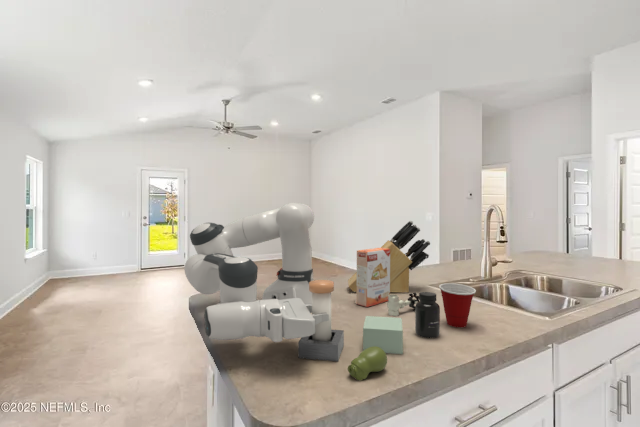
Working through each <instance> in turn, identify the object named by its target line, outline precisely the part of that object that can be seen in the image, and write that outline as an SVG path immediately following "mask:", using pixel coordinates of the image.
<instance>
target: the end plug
mask: <svg viewBox="0 0 640 427" xmlns="http://www.w3.org/2000/svg"><path fill="white" fill-rule="evenodd" d="M309 291H310V292H312V313H311V314H315V315H317V314H321V313H325V312H326V313H327V314H328V315H329V320H328V321H324V322H320V323H318V324H315V333H314V334H313V335H312V340H318V341H332V330H333V329H332V292H334V291H335V282H334V281H332V280H330V279H315V280H314V279H313V281H310V282H309Z"/></svg>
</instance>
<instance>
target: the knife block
mask: <svg viewBox="0 0 640 427" xmlns="http://www.w3.org/2000/svg"><path fill="white" fill-rule="evenodd" d="M419 232H421V228H420V227H418V226H417V225H416V224H414V221H412V220H409V221H408V222H407V223H406V224H404V225H403V226H402V227H401V228H400V229H399V230H398V231H397V232H395V234H394V236H392V238H391V239H390V240H386V242H385V243H383V245H382V246H381V247H380V248H388V249H390V293H403V294H407V293H409V291H410V290H409V288H410V271H412V270H414V269H416V267H418V266H419V265H420V264H422V263H423V262H424V261H426V260H427V259H428V258H429V256H430V254H429V253H427V252H425V250H426V249H427V248H428V246H430V245H431V242H430V241H429V240H427V241H426V240H425V239H424V238H423V239H421V240H420V239H418V240H416V241H415V242H414V243H413V244H412V245H411V246H409V248H408V250H407V252H405V253H404V252H403V251H402V249H403V248H404V247H405V246H406V245H407V244H409V242H411V240H413V239H414V238H415V236H416V235H417V234H418V233H419ZM409 257H410V258H409ZM347 283H348V288H349V289H350V290H351V291H352V292H354V293H355V294H357V271H355V273H353V274H352V276H351V277H349V279H348V280H347Z"/></svg>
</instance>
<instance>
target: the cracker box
mask: <svg viewBox="0 0 640 427" xmlns="http://www.w3.org/2000/svg"><path fill="white" fill-rule="evenodd" d="M356 272H357V293H356V305H359V306H361V307H366V308H369V307H372V306H375V305H380V304H382V303H386V302H388V301H389V300H388V295H391V292H390V249H388V248H381V247H375V248H367V249H360V250H359V249H358V250H356Z"/></svg>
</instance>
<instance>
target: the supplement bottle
mask: <svg viewBox="0 0 640 427" xmlns="http://www.w3.org/2000/svg"><path fill="white" fill-rule="evenodd" d="M418 296H419V302H417V303H416V304H415V305H414V306H415V311H414V312H415V316H414V318H415V319H414V320H415V321H414V322H415V325H414V328H415V329H414V330H415V331H414V332H415V334H416V335H417V336H419V337H422V338H426V339H436V338H438V337H439V336H440V334H441V333H440V331H441V330H440V329H441V328H440V326H441V325H440V322H441V321H440V320H441V310H440V309H441V308H440V305H439V304H438V302H437V293H436V292H435V293H434V292H431V291H420V292H418Z"/></svg>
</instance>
